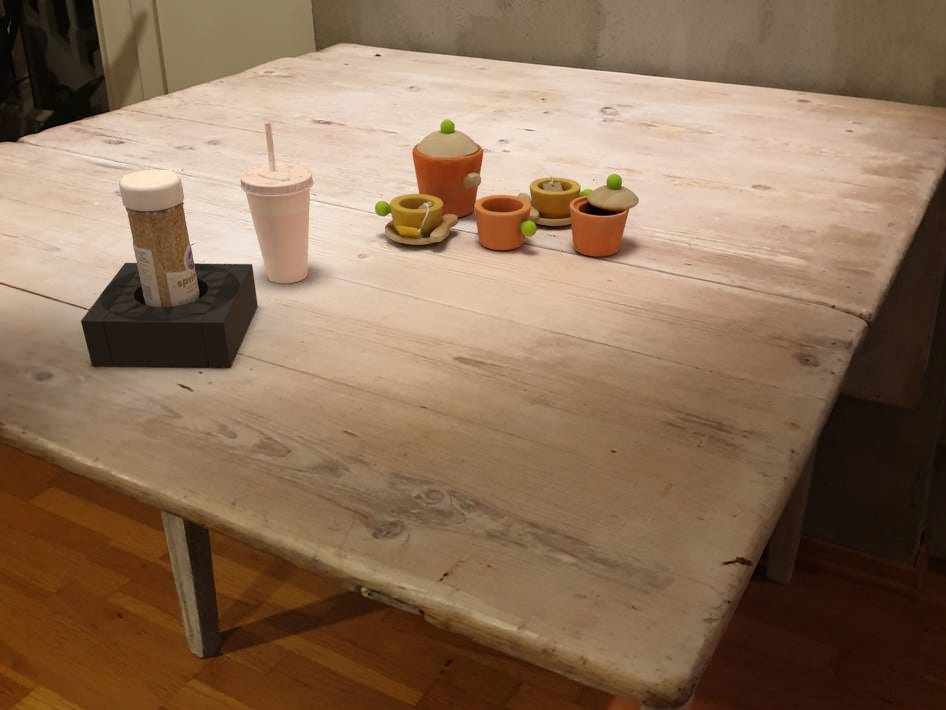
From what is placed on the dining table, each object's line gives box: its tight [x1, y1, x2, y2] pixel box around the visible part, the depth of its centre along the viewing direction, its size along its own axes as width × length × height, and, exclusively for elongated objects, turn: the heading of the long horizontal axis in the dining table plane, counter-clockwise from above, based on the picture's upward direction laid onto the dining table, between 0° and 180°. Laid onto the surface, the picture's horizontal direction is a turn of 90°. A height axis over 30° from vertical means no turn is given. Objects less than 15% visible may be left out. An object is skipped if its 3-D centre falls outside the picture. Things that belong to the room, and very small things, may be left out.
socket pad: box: [80, 262, 259, 369], centre depth 80 cm, size 11×11×4 cm
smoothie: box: [239, 121, 314, 285], centre depth 87 cm, size 6×6×14 cm
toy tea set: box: [374, 119, 640, 258], centre depth 98 cm, size 26×16×10 cm, turn 80°
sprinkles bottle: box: [118, 169, 199, 307], centre depth 77 cm, size 5×5×13 cm
